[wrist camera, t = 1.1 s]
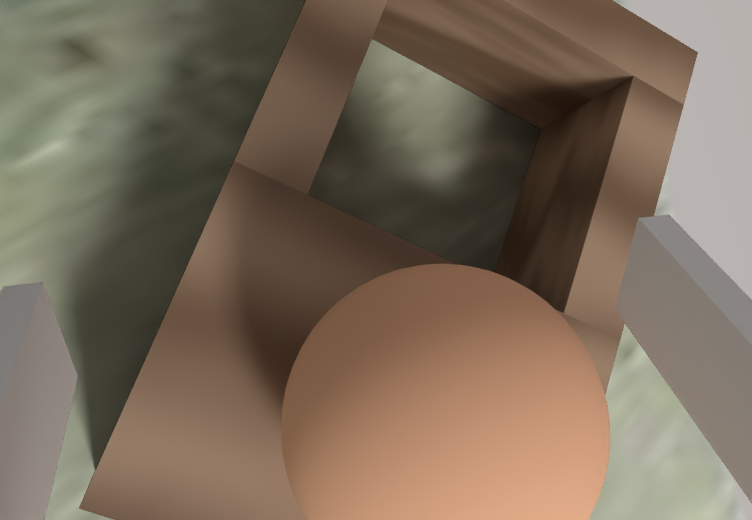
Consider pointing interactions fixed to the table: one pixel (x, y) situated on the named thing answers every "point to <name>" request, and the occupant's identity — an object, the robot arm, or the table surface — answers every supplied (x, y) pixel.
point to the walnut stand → (378, 247)
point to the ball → (444, 405)
